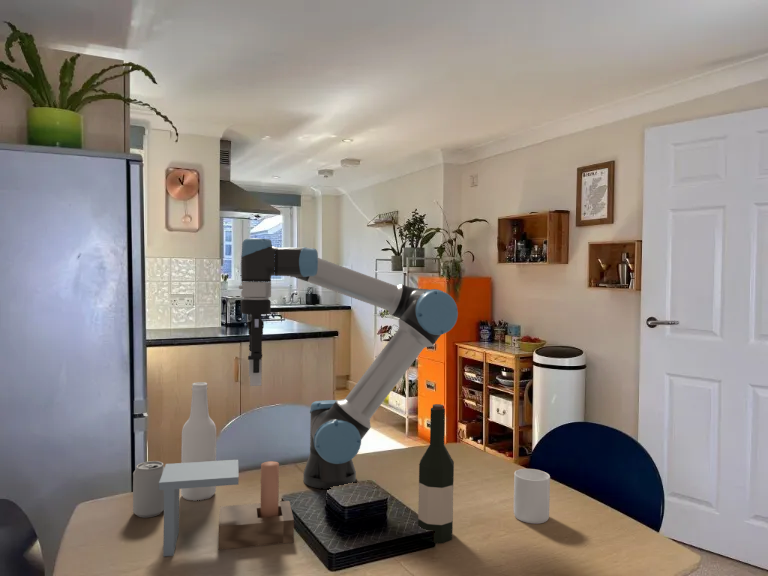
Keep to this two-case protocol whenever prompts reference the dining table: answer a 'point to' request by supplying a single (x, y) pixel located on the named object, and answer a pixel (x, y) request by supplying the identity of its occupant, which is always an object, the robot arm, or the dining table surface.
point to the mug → (531, 495)
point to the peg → (269, 489)
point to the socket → (254, 526)
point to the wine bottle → (436, 482)
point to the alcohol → (198, 439)
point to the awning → (190, 477)
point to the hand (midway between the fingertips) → (254, 380)
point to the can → (148, 489)
